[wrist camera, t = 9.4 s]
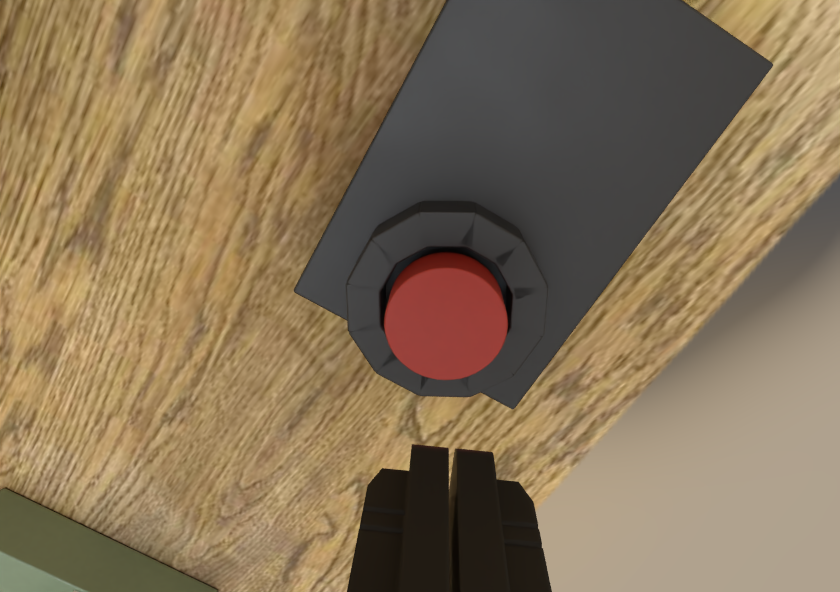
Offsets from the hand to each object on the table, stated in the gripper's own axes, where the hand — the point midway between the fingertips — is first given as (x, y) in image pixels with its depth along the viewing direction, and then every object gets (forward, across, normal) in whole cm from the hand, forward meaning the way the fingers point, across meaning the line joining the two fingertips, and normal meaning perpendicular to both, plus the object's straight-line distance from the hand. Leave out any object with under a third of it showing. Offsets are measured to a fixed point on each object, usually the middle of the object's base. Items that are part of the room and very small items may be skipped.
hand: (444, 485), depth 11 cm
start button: (+9, 0, 0) cm, 9 cm away
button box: (+13, -2, -4) cm, 14 cm away
